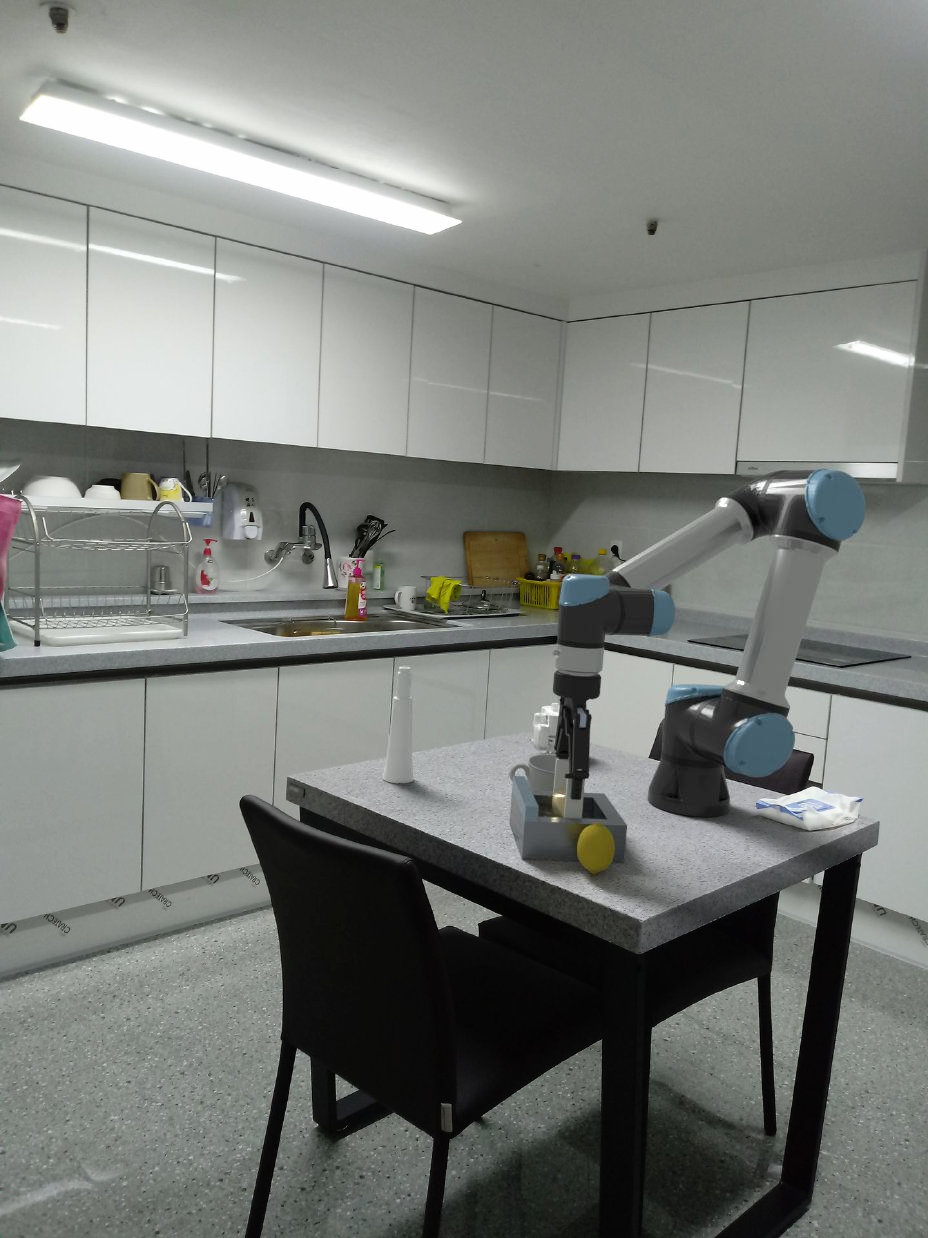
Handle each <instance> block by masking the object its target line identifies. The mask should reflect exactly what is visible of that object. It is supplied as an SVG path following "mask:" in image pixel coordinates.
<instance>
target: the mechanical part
mask: <svg viewBox="0 0 928 1238" xmlns="http://www.w3.org/2000/svg"><path fill="white" fill-rule="evenodd" d="M559 708H560V703H557V702H553V703H552V702H551V703H550V705H545V706H542V707H541V712H535V713H534V716H533V722H532V725H531V733H530V735H531V736H530V738H531V739H530V740H531V743H532V745H533V747H534V749H535V750H537V751H539V752H540V751H546V753H545V754H550V752H551V754H554V755H555V753H556V751H555V750H554V746H555V738H556V731H557V723H558V716H559Z"/></svg>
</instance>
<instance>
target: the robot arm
mask: <svg viewBox="0 0 928 1238" xmlns="http://www.w3.org/2000/svg"><path fill="white" fill-rule="evenodd" d="M714 505H715V506H714V509H711V510H710V511H708V512H707V513H705V514H703V515H701V516H700V517H698V518H697V519H694V520H693V521H692V522H690V523H688V524H686V525H685V526H684V527H682V528H679V529H678V530H677V531H675V532H673V533H671V534H670V535H668V536H667V537H665V538H663V539H662V540H660V541H658V542H656V543H655V544H653V545H652V546H650V547H648V548H647V549H645V550H643V551H642V552H640V553H638V554H637V555H635V556H633V557H631V558H630V559H628V560H627V561H624V562H623V563H622V564H620V565H618V566H617V567H614V568H613V569H611V570H609V571H608V572H606V573H604V574H603V575H595V574H584V573H582V574H581V573H571V574H570V573H569V574H567V575H566V576H564V578H562V583H561V587H560V595H559V599H558V605H559V606H558V607H559V608H558V621H557V624H558V625H557V633H556V634H557V637H556V638H557V640H556V648H555V649H552V656H555V660H554V661H555V663H554V664H555V667H556V669H557V670H555V672H554V673H553V681H552V683H553V685H552V686H553V687H552V692H553V694H554V695H556V696H557V697H559V706H560V708H559V716H558V723H557V731H556V738H555V746H554V750H555V751H556V753H555V752H554V755H556V757H558V759H556V764H555V777H554V789H553V792H555V791H560V790H566V796H565V808H564V818H582V809H583V797H584V793H585V783H586V779H587V780H588V779H589V778H590V745H591V741H590V740H591V724H592V719H593V717H592V714H591V713H590V710H589V709H587V701H589V700H595V699H597V698H599V697H600V696H601V686H602V676H601V674H600V673H601V672H602V671H603V667H604V666H603V665H604V657H605V656H604V653H605V640H606V636H640V637H647V638H650V637H653V636H664V635H666V634H667V633H669V631H671V629H672V628H673V626H674V622H675V619H676V617H675V615H676V606H675V605H676V604H675V602H674V599H673V598H672V596H671V594H669V592H666V591H664V590H662V589H664V588H666V587H667V586H670V584H672V583H673V582H676V581H677V580H679V579H680V578H681V579H682V577H684V576H685V575H687V574H689V573H690V572H692V571H694V570H696V569H697V568H700V566H702V565H703V564H705V563H707V562H708V561H710V560H712V559H713V558H715V557H717V556H718V555H720V554H722V553H723V552H725V551H727V550H728V549H730V548H732V547H733V546H735V545H741V546H745V545H747V544H748V543H749V544H750V542H752V541H754V540H756V539H758V538H762V537H767V536H768V537H769V541H770V542H771V544H772V546H773V548H774V552H773V555H772V558H771V562H770V565H769V567H768V571H767V575H766V578H765V581H764V584H763V587H762V591H761V594H760V598H759V600H758V604H757V606H756V607H757V608H756V610H755V614H754V617H753V620H752V623H751V627H750V630H749V633H748V635H747V636H748V637H747V638H746V639H747V640H746V642H745V646H744V649H743V652H742V655H741V659H740V663H739V666H738V669H737V673H736V675H735V679H734V680H733V681H732V682H729V683H728V684H727V683H726V684H725V685H716V684H701V683H700V684H698V683H697V684H695V683H689V684H688V683H687V684H686V683H685V684H683V683H682V684H673V685H671V686H670V687H669V688H668V690H667V692H666V693H667V694H666V699H665V703H664V707H665V709H664V719H663V721H664V722H663V729H662V730H663V732H662V742H661V755H660V761H659V763H658V766H657V768H656V770H655V772H654V774H653V776H652V779H651V781H650V784H649V786H648V791H647V801H648V802H649V803H650V804H651V805H652V806H655V807H656V808H657V809H658V808H659V809H661V810H664V811H666V812H670V813H674V814H678V815H683V816H690V817H700V818H701V817H705V818H707V817H709V818H710V817H719V816H723V815H725V814H727V813H729V811H730V805H731V804H730V803H731V796H730V792H729V791H730V790H729V787H728V783H727V778H726V774H725V769H724V767H725V768H727V769H729V770H730V771H732V772H734V773H737V774H740V775H745V776H747V777H751V778H764V777H767V776H770V775H772V774H773V773H774V772H776V771H779V770H780V769H781V768H782V767H783V766H784V765H785V764H786V763H787V761H788V760H789V758H790V757H791V755H792V753H793V751H794V748H795V743H796V742H795V741H796V734H795V732H794V726H793V724H792V723H791V722H790V720H789V719H788V716H789V713H790V710H791V705H790V703H789V701H788V700H787V698H786V691H787V687H788V684H789V681H790V679H791V678H790V677H791V675H792V672H793V668H794V665H795V662H796V658H797V655H798V652H799V649H800V646H801V642H802V639H803V635H804V633H805V630H806V626H807V623H808V620H809V617H810V613H811V610H812V606H813V604H814V600H815V597H816V594H817V590H818V588H819V587H818V586H819V585H820V581H821V577H822V575H823V572H824V568H825V565H826V563H827V562H828V561H829V560H831V559H832V558H835V557H837V556H838V554H839V551H840V547H841V544H842V541H846V540H847V539H850V538H852V537H853V536H854V534H857V533H858V532H859V531H860V529H861V528H862V526H863V524H864V521H865V518H866V509H867V507H866V505H867V504H866V499H865V495H864V492H863V491H862V489H861V485H860V484H859V483H858V481H857V480H856V479H855V478H854V477H853V476H852V475H850V474H849V473H847V472H844V471H842V470H832V469H826V468H819V469H804V470H803V469H802V470H798V469H796V470H795V469H794V470H790V469H789V470H787V469H785V470H784V469H783V470H782V469H781V470H775V471H772V472H769V473H766V474H763V475H761V476H758V477H756V478H755V479H753V480H751V481H749V482H747V483H745V484H743V485H742V486H740V487H738V488H737V489H734V490H733V491H731V492H730V493H728V494H725V495H724V496H723V497H721V498H720V499H719V498H718V500H717V501H716V503H715V504H714ZM568 758H569V759H568ZM578 769H581V770H578Z"/></svg>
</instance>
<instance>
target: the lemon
mask: <svg viewBox="0 0 928 1238" xmlns="http://www.w3.org/2000/svg"><path fill="white" fill-rule="evenodd" d="M614 853H615V843H614V838H613V836H612V834H611V832H610V831H609V830H608V829H607V828H606V827H605V826H603V825H601V823H598V822H597V823H595V824H593V825H590V826H588V827H586V828H585V829H584V830H583V831H582V833H581V834H580V837H579V840H578V845H577V854H578V859H579V861H578V862H580V864H581V866H582V867H583V868H584V869H586V870H588V871H589V873H590V874H591V873H592V875H594V874H595V875H597V874H598V873H599V872H603V871H606V869H607V868H609V867H610V866H611V864H612V863H613V862H612V860H613V857H614Z"/></svg>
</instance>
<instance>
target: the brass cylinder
mask: <svg viewBox="0 0 928 1238" xmlns="http://www.w3.org/2000/svg"><path fill="white" fill-rule="evenodd" d="M565 796H566V790H560V791H555V792H553V799H552V811H551V817H559V818H564V808H565Z"/></svg>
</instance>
